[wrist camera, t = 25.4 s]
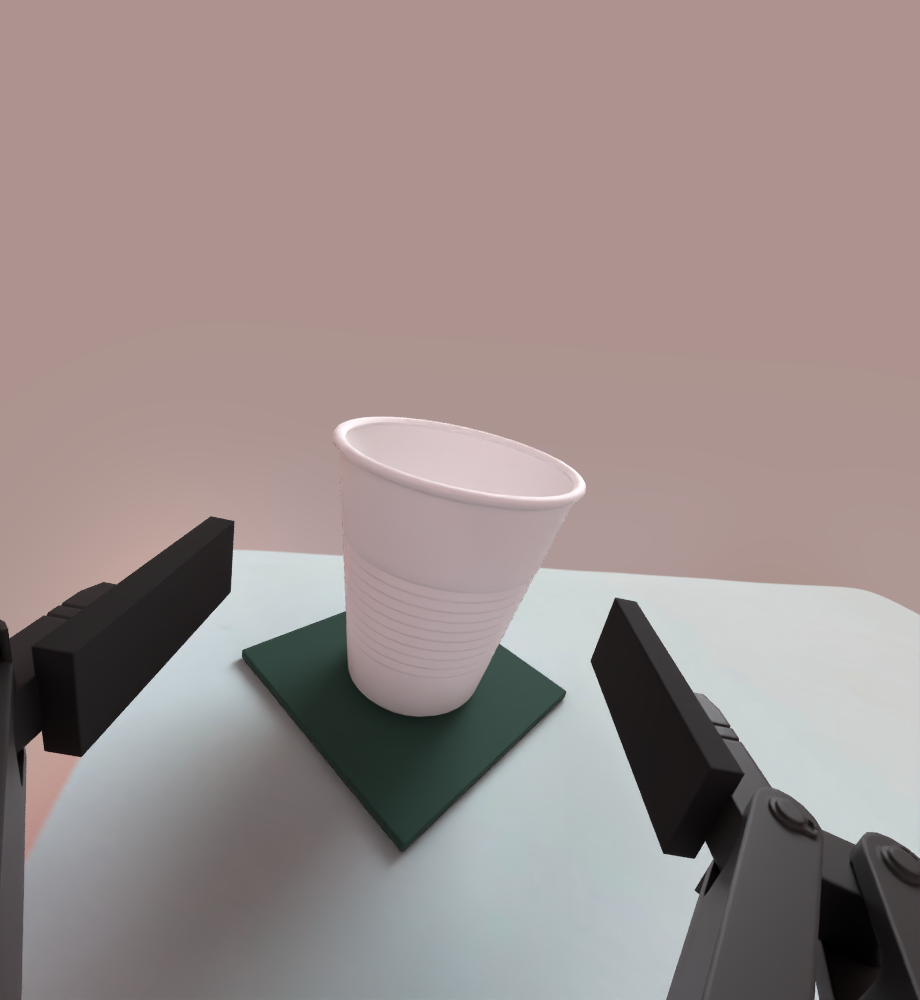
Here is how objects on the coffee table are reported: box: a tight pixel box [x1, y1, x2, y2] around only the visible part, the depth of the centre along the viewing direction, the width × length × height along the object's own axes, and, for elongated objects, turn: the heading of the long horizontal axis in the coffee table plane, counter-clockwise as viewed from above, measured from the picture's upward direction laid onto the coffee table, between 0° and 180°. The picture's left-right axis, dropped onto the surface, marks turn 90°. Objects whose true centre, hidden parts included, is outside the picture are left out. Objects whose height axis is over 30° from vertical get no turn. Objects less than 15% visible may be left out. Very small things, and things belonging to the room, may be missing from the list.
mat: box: [242, 611, 566, 852], centre depth 22 cm, size 11×11×1 cm
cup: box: [333, 417, 586, 717], centre depth 20 cm, size 10×10×11 cm
